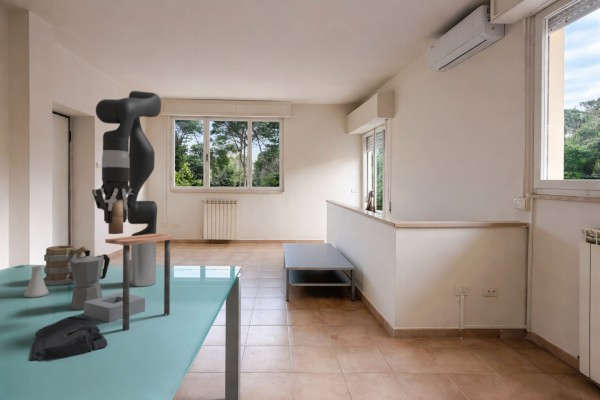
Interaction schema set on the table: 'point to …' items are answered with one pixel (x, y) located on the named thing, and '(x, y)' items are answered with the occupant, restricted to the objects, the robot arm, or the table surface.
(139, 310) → the socket
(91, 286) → the coffeepot
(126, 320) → the small wooden table
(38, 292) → the flask
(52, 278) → the tankard
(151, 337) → the table surface
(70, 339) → the dark slate chunk
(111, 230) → the peg
